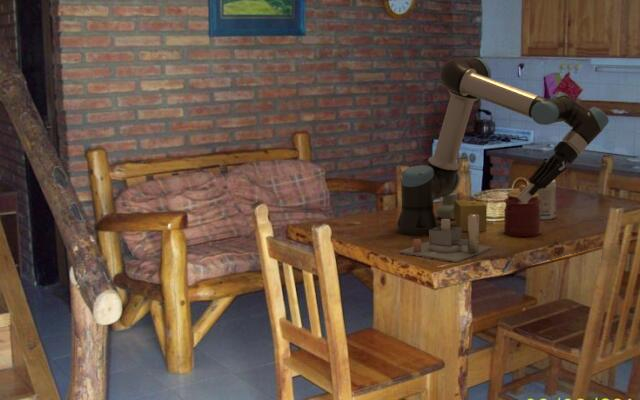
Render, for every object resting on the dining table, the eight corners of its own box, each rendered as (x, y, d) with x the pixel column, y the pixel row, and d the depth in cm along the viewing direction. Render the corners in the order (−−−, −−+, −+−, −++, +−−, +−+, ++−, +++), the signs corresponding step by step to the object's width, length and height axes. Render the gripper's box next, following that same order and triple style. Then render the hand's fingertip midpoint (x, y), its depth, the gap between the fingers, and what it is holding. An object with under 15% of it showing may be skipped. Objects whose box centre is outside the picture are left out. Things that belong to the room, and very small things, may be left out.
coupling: (429, 248, 292) (429, 213, 290) (440, 243, 299) (440, 209, 297) (473, 254, 284) (473, 217, 281) (483, 249, 290) (483, 213, 288)
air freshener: (453, 215, 352) (453, 190, 351) (467, 218, 346) (467, 193, 344) (432, 218, 347) (432, 193, 345) (446, 221, 340) (446, 196, 338)
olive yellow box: (481, 225, 332) (481, 199, 331) (487, 231, 322) (487, 204, 320) (453, 226, 332) (453, 200, 330) (458, 232, 322) (459, 205, 320)
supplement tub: (540, 214, 350) (541, 177, 348) (560, 217, 343) (561, 180, 340) (525, 217, 344) (525, 180, 342) (545, 221, 337) (546, 183, 334)
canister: (527, 227, 326) (528, 180, 323) (548, 234, 314) (549, 186, 311) (496, 231, 322) (497, 183, 318) (516, 238, 310) (517, 189, 307)
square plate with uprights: (399, 253, 292) (399, 221, 290) (435, 240, 309) (435, 210, 307) (456, 263, 278) (457, 229, 276) (491, 249, 295) (491, 217, 293)
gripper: (587, 158, 284) (537, 212, 284) (567, 152, 298) (519, 204, 298) (572, 142, 282) (522, 196, 282) (553, 137, 296) (505, 189, 296)
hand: (521, 200), depth 290 cm, fingers closed
